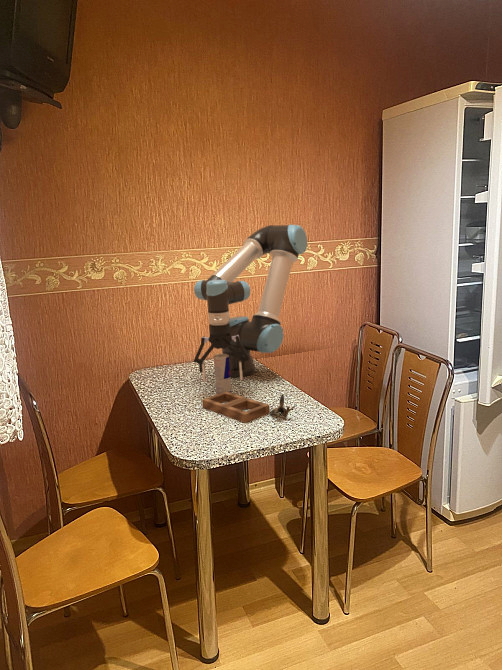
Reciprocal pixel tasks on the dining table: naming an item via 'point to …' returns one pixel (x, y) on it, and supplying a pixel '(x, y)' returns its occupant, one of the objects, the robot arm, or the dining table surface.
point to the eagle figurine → (282, 408)
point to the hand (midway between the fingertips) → (223, 379)
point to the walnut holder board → (236, 406)
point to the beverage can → (222, 373)
